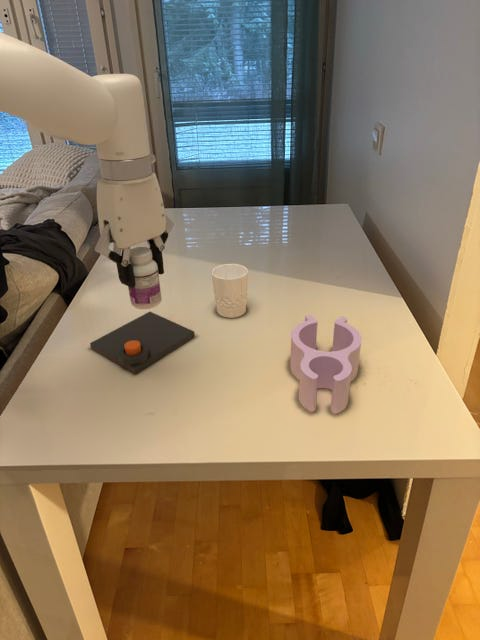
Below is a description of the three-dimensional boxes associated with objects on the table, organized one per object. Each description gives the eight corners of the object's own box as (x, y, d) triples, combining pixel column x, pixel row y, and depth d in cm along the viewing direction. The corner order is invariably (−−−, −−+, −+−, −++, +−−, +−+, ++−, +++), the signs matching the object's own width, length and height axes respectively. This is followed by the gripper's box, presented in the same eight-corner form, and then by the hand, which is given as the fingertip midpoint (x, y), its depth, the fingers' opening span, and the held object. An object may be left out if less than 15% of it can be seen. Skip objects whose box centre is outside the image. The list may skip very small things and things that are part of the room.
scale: (133, 375, 87) (131, 362, 85) (89, 349, 95) (86, 337, 93) (195, 337, 98) (193, 324, 96) (150, 316, 105) (149, 305, 104)
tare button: (132, 357, 87) (131, 350, 87) (122, 352, 89) (120, 345, 88) (144, 350, 89) (143, 343, 89) (134, 345, 91) (133, 338, 90)
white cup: (248, 319, 103) (247, 278, 98) (213, 319, 103) (210, 279, 98) (248, 302, 110) (248, 263, 105) (215, 302, 110) (213, 263, 105)
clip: (361, 416, 76) (366, 382, 72) (285, 409, 78) (286, 376, 74) (355, 347, 93) (359, 317, 89) (292, 343, 95) (293, 313, 91)
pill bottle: (130, 298, 82) (121, 247, 77) (160, 293, 84) (153, 243, 79) (132, 312, 78) (123, 259, 73) (163, 308, 79) (157, 255, 74)
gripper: (154, 154, 77) (166, 256, 86) (60, 176, 66) (86, 290, 75) (185, 160, 72) (194, 267, 82) (91, 184, 61) (114, 304, 71)
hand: (142, 277), depth 78 cm, fingers closed on pill bottle, 5 cm apart
